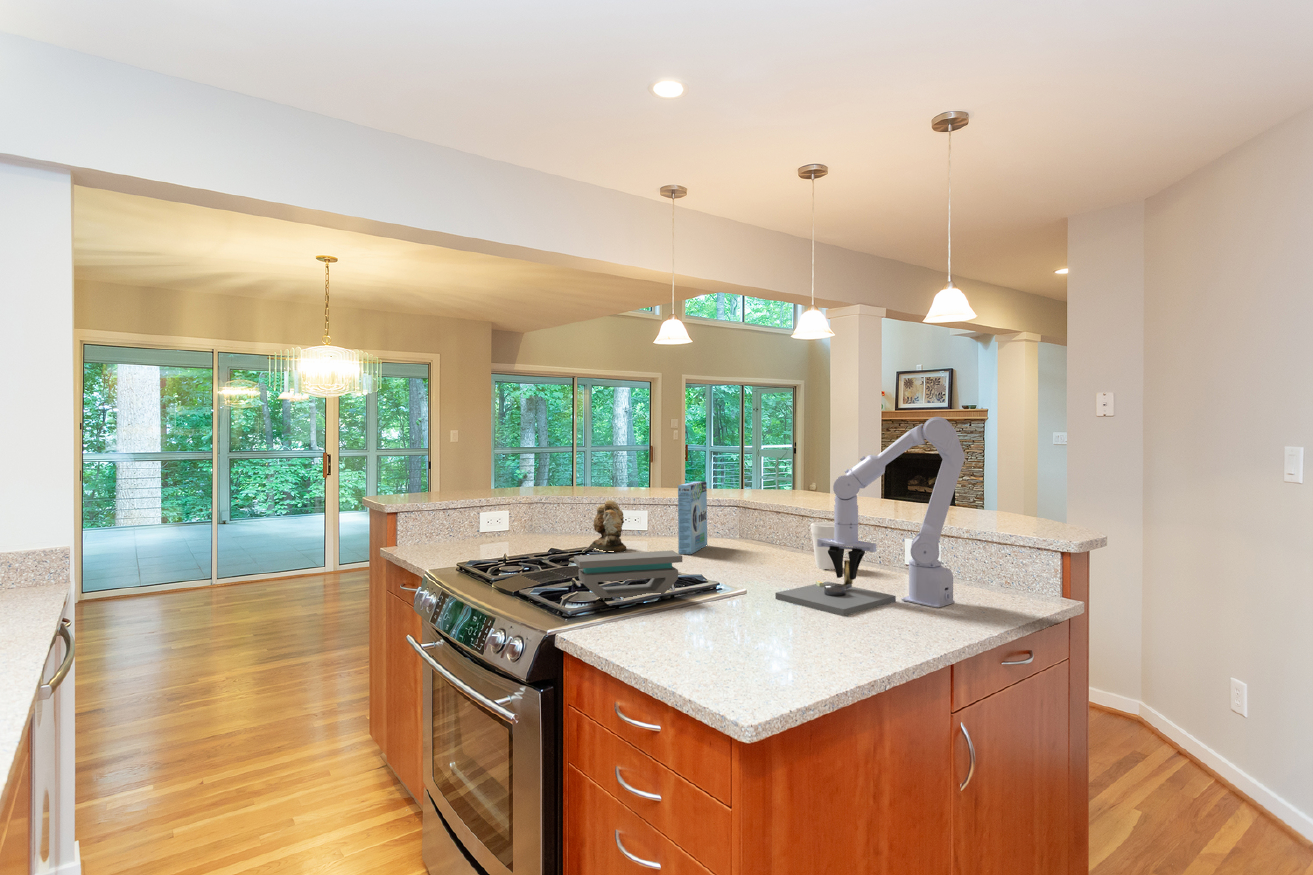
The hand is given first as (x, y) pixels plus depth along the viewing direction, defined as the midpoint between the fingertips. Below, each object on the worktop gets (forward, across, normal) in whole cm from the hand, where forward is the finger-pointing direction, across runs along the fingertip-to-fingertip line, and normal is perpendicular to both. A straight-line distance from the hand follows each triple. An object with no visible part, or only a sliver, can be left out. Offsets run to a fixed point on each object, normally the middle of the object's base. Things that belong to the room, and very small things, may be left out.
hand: (846, 578), depth 173 cm
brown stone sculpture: (+4, -92, +16) cm, 94 cm away
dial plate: (+4, 0, -7) cm, 8 cm away
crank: (+3, 0, -4) cm, 5 cm away
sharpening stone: (+4, -40, -36) cm, 54 cm away
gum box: (+4, -67, +32) cm, 75 cm away
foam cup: (+4, -17, +29) cm, 34 cm away
